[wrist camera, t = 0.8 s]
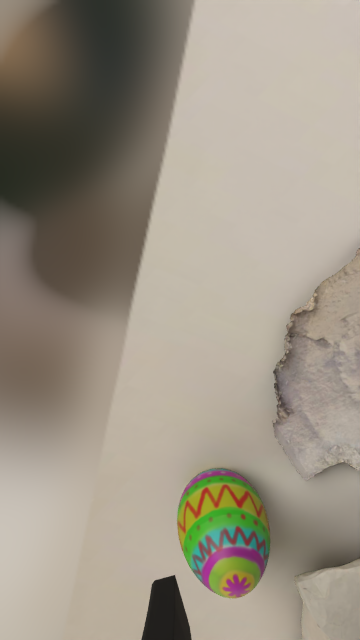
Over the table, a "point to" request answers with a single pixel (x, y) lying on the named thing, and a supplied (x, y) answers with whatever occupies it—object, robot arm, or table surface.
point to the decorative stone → (322, 377)
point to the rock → (331, 603)
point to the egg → (224, 532)
